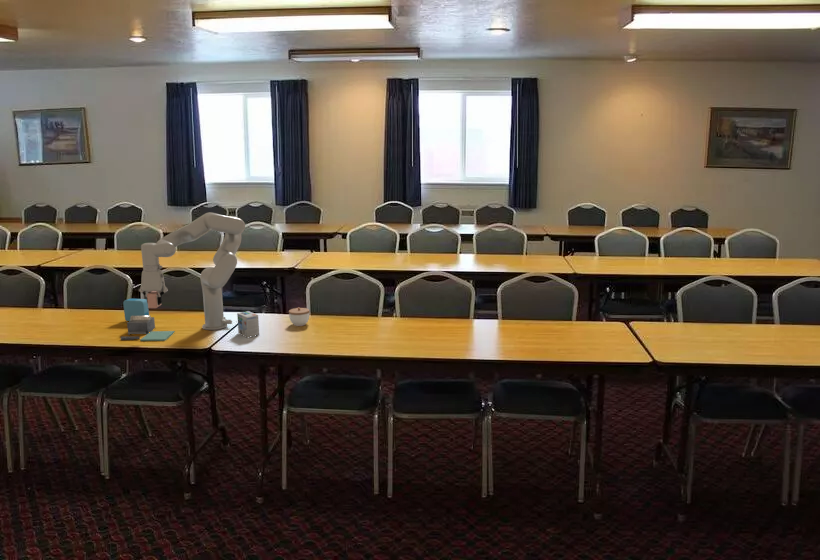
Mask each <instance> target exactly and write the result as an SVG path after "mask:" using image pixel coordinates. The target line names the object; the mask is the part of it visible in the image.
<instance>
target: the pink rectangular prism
mask: <svg viewBox="0 0 820 560" xmlns="http://www.w3.org/2000/svg"><path fill="white" fill-rule="evenodd" d="M157 297H158V294H157V291H150V293H148V294H147V297H146V300H148V309H157V308H158V307H161V305H163V304H162V303H161V304H160V305H158V301H157Z"/></svg>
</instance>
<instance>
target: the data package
mask: <svg viewBox="0 0 820 560" xmlns="http://www.w3.org/2000/svg"><path fill="white" fill-rule="evenodd" d="M122 304H123V312H124V313H123V314H124V320H125V321H126V322H127V321H130V317H131V316H150V310H149V309H150V308H148V303H147V298H128V299H124V301H123V303H122Z"/></svg>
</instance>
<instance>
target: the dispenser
mask: <svg viewBox="0 0 820 560" xmlns="http://www.w3.org/2000/svg"><path fill="white" fill-rule="evenodd" d="M155 323H156V322H155V317H154V316H151V315H149V316H131V317H130V321H129V322H127V321H126V324H127V325H126V326H127V335H128V336H120V341H135V340H134V339H141V337H140V335H138V336H137V335H136V336H134V335H133V336H131V335H130V334H146V335H147V334H148V333H149V332H151V331H154V330H155V329H156V324H155ZM154 328H155V329H154ZM153 329H154V330H153ZM129 335H130V336H129Z"/></svg>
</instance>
